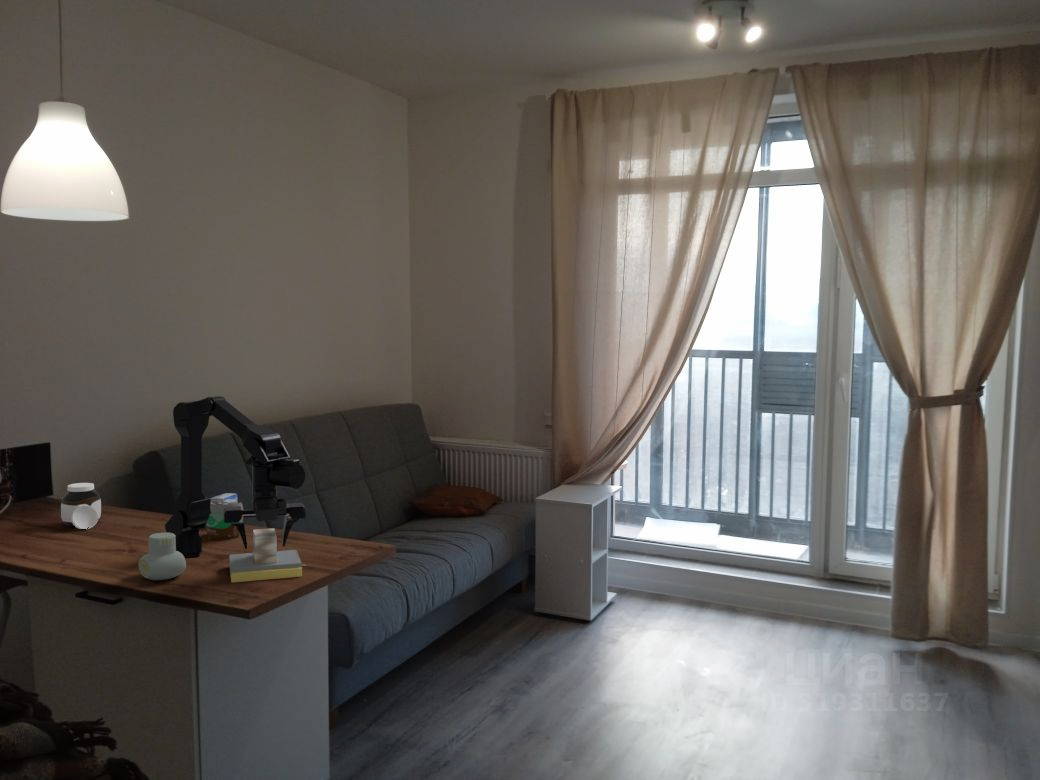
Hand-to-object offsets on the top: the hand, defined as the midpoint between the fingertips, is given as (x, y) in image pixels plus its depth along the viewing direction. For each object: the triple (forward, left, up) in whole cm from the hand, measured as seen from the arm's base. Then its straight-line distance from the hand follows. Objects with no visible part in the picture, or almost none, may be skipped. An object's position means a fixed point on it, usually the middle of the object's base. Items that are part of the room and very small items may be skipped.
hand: (264, 547), depth 203 cm
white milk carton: (0, 0, -3) cm, 3 cm away
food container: (-10, +35, -6) cm, 37 cm away
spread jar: (-46, +59, -6) cm, 75 cm away
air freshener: (-23, +2, -6) cm, 24 cm away
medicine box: (-8, +50, -6) cm, 51 cm away
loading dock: (0, 0, -6) cm, 6 cm away
